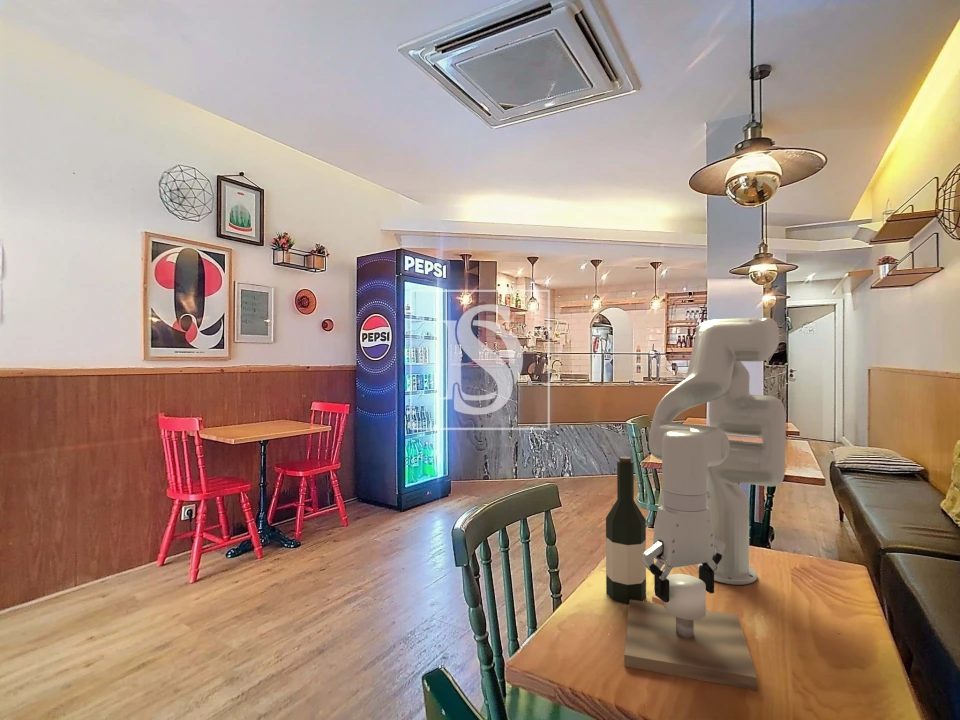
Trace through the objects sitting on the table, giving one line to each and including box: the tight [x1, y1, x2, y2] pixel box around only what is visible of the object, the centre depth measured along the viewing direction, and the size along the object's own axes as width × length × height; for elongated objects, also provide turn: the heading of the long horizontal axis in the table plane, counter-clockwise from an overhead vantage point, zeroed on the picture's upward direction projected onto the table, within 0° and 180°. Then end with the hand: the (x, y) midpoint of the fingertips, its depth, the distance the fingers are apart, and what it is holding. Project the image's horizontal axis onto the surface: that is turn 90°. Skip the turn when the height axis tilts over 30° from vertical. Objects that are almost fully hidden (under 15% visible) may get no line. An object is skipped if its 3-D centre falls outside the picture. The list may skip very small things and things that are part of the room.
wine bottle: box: [605, 455, 647, 606], centre depth 112 cm, size 8×8×30 cm
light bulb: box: [651, 573, 707, 620], centre depth 94 cm, size 7×9×5 cm
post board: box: [623, 600, 758, 691], centre depth 93 cm, size 20×20×6 cm
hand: (684, 594), depth 93 cm, fingers open, 9 cm apart
